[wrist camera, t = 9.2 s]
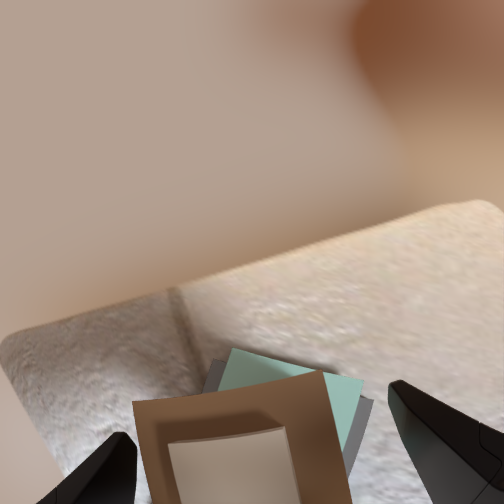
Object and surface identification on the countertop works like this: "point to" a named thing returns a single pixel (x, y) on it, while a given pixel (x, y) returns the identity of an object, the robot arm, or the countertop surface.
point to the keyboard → (266, 369)
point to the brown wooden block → (244, 445)
